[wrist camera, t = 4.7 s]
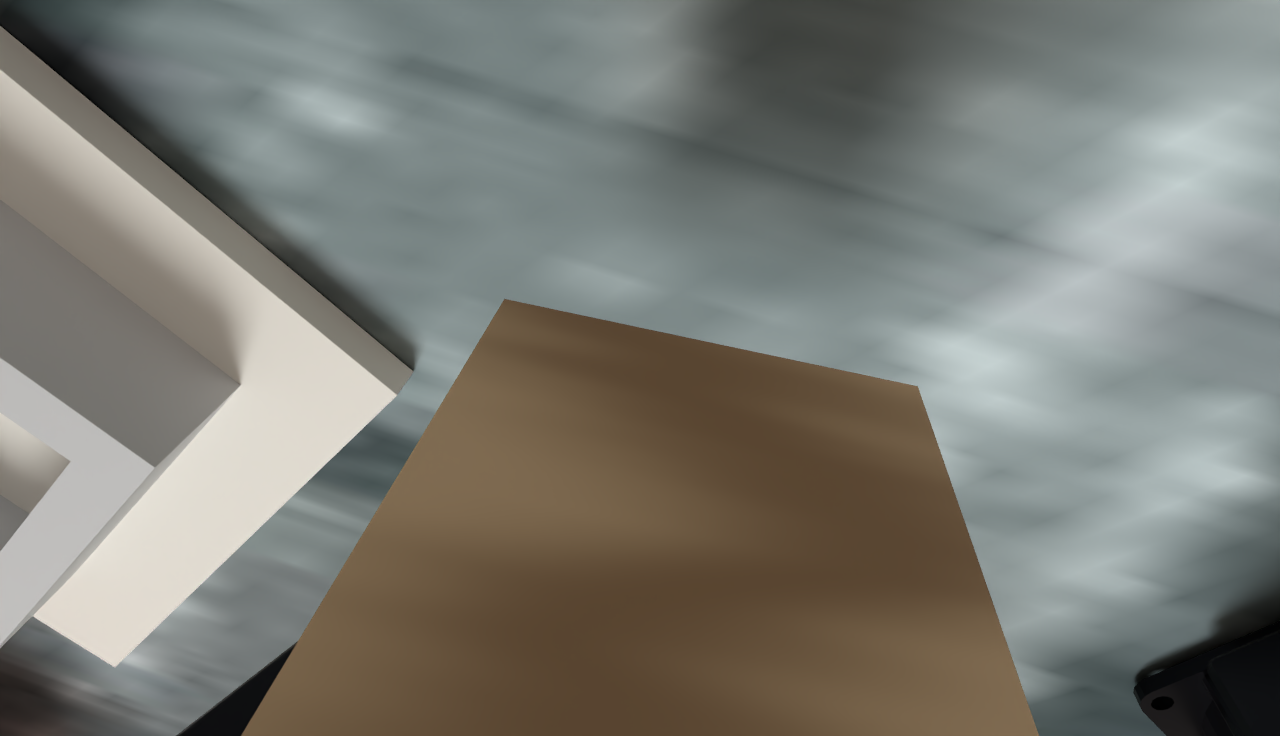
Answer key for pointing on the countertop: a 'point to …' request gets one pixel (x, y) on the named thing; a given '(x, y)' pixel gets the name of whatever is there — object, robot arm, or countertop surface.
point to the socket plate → (145, 373)
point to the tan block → (657, 558)
